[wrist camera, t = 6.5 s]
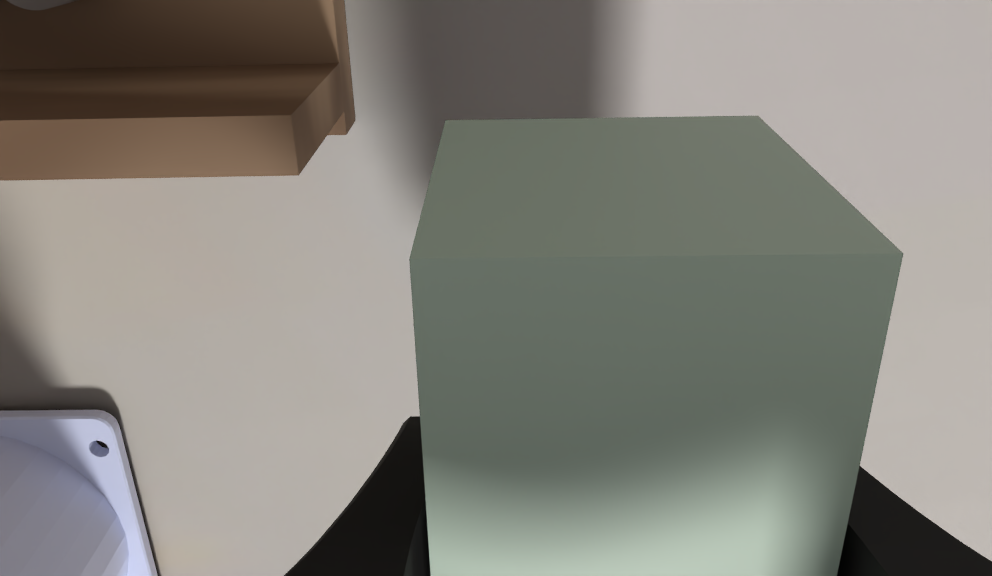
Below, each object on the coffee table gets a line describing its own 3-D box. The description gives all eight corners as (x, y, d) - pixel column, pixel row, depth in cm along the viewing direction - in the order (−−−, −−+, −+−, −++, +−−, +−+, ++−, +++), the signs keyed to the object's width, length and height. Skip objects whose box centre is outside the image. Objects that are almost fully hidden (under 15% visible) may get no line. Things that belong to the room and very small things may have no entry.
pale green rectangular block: (445, 120, 12) (408, 259, 8) (757, 116, 12) (904, 253, 8) (467, 624, 17) (452, 900, 12) (698, 623, 17) (769, 901, 12)
